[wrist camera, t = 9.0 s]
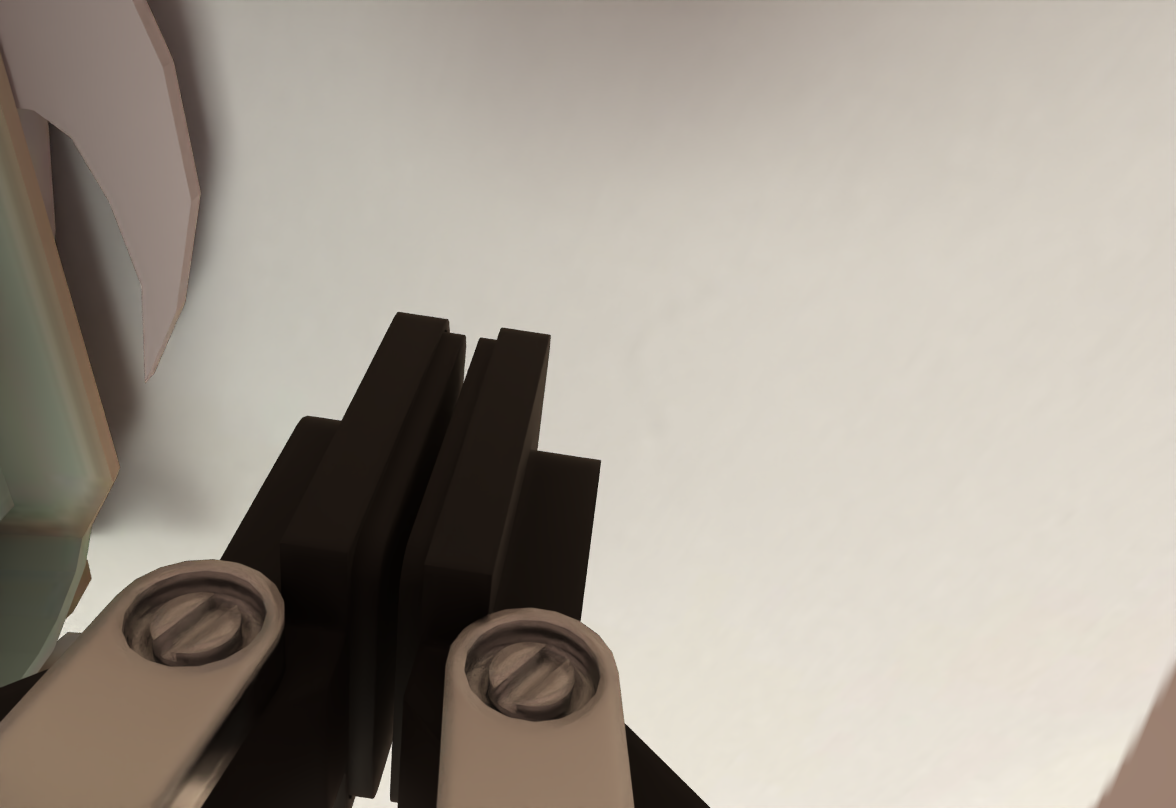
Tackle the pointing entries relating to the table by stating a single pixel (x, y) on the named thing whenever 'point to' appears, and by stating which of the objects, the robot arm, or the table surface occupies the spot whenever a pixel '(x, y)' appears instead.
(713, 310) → the table surface
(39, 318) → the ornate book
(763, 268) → the table surface
